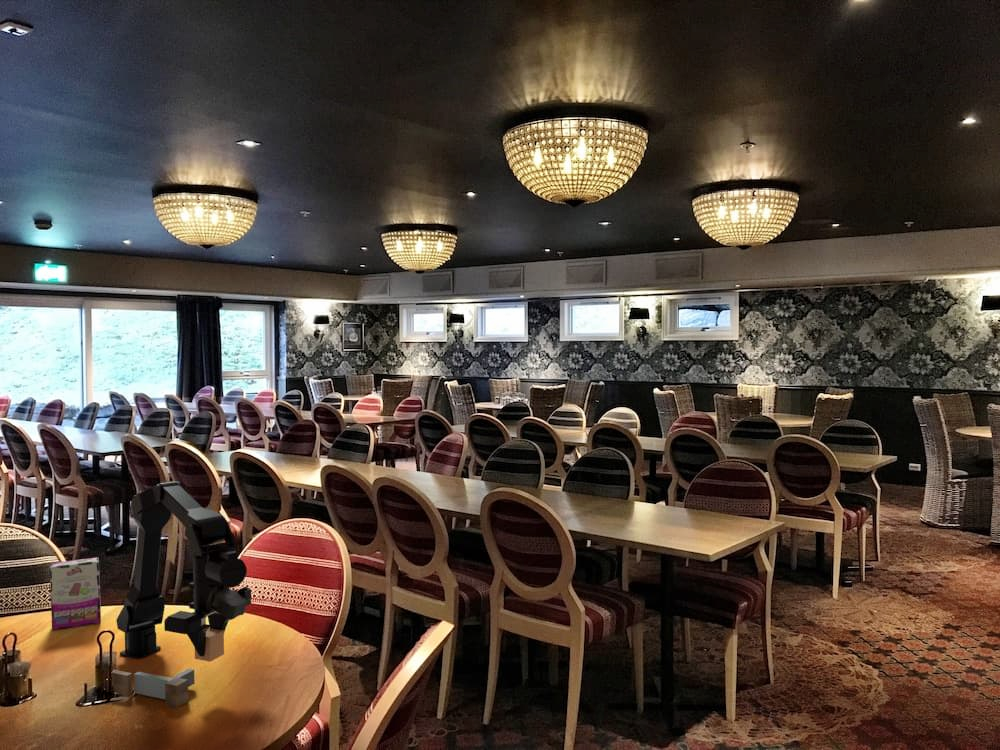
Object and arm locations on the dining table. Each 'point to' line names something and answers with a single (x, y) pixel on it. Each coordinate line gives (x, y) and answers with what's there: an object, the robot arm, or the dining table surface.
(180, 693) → the grey-brown blocks
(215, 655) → the tan rectangular block
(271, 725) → the dining table surface
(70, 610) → the candy bar box
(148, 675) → the grey l-shaped bracket
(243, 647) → the dining table surface
